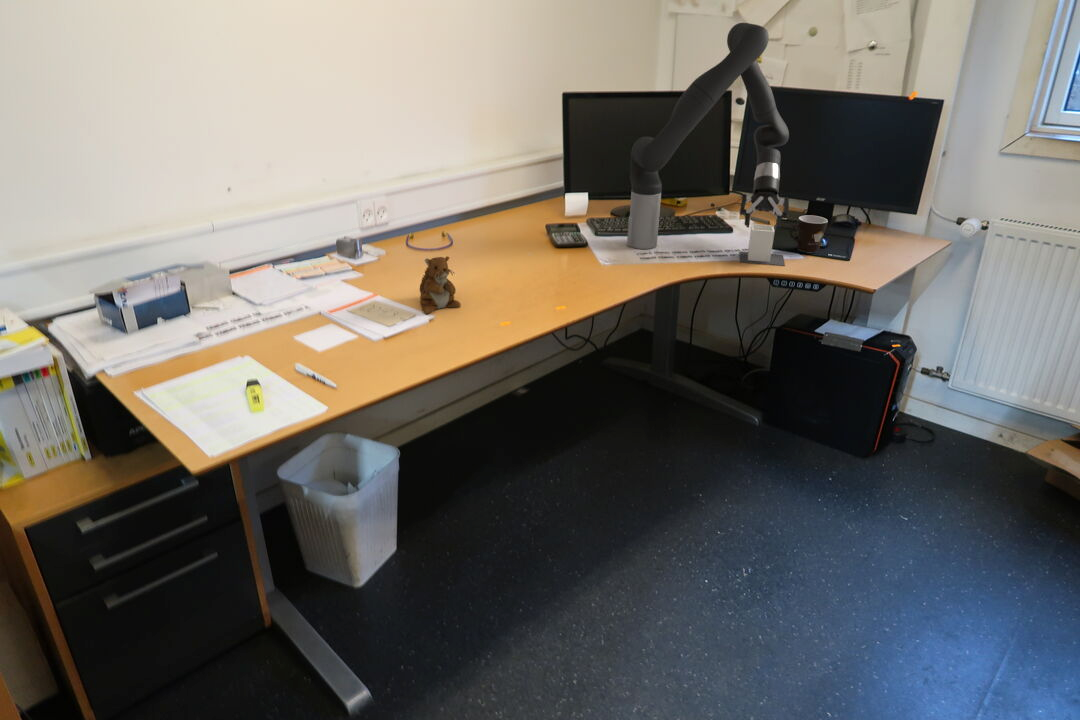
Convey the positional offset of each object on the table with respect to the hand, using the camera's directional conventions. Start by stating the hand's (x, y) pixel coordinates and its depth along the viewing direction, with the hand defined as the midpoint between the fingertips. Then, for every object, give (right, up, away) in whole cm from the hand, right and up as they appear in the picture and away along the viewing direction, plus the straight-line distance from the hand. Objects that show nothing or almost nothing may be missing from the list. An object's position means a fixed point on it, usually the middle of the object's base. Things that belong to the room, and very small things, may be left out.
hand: (762, 227), depth 226 cm
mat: (0, -9, +2) cm, 9 cm away
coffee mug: (+16, -6, +10) cm, 19 cm away
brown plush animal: (-95, -26, -32) cm, 103 cm away
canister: (-1, -9, +2) cm, 9 cm away
